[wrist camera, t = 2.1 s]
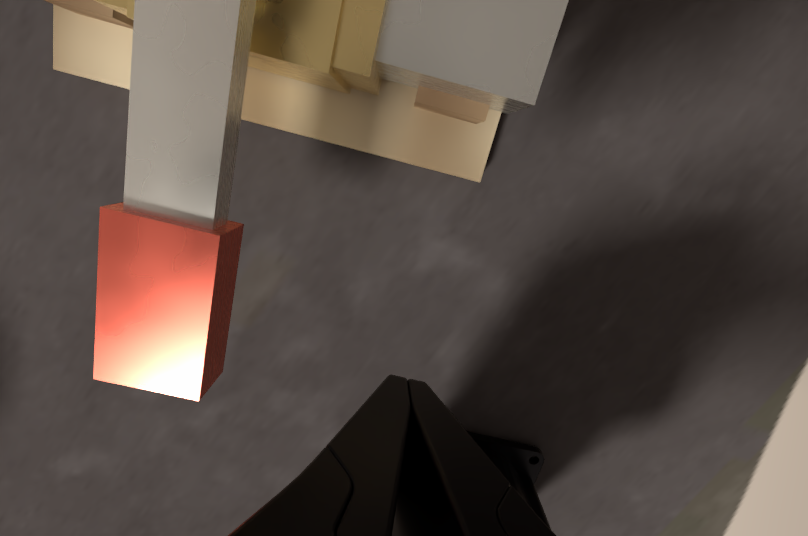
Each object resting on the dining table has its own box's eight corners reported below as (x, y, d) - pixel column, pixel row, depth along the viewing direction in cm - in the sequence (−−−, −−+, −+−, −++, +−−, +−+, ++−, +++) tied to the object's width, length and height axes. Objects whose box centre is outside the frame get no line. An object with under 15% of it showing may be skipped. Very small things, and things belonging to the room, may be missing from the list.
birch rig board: (542, -42, 14) (574, -86, 12) (475, 180, 17) (489, 186, 14) (79, -187, 13) (-4, -274, 10) (74, 73, 15) (5, 58, 13)
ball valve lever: (160, -184, 8) (110, -252, 7) (301, -140, 8) (281, -197, 7) (126, 350, 11) (89, 378, 10) (226, 372, 12) (203, 402, 10)
